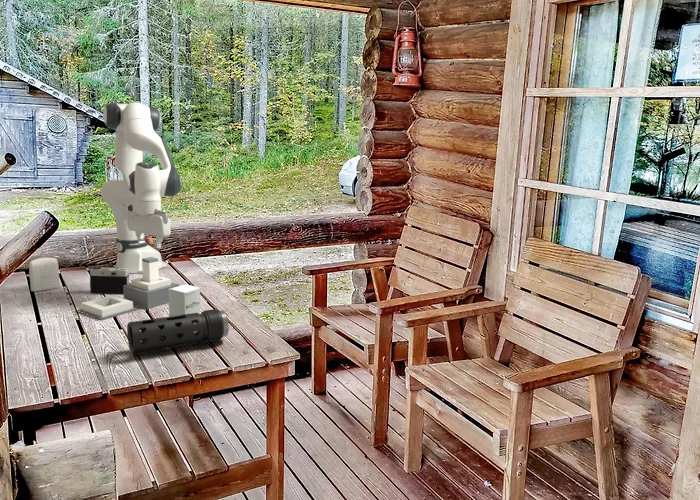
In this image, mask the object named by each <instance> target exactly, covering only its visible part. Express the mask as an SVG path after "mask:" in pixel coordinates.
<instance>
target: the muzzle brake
mask: <svg viewBox="0 0 700 500" xmlns="http://www.w3.org/2000/svg"><path fill="white" fill-rule="evenodd" d="M229 328H230V327H229V320H228V315H227V312H226V311H225V310H223V309H222V310H219V309H217V308H213V309H212V308H211V309H206V310H203V311H201V312H200V314H199V313H191V314H184V315H176V316H169V315H168V316H163V317H155V318H149V319H143V320H135V321H128V323H127V328H126V333H127V334H126V335H127V341H128V342H127V343H128V348H129V350H130V353H131V354H132V355H133V356H138V355H143V354H144V355H145V354H149V353H155V352H163V351H166V350H167V349H176V347H180V346H187V345H192V344H193V345H194V347H195V346H200V345H201V346H202V345H206V343H207V342H213V341H214V342H215V341H220V340H221V339H223V338H225V337H227V336H228V334H229Z"/></svg>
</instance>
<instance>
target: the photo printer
mask: <svg viewBox="0 0 700 500" xmlns="http://www.w3.org/2000/svg"><path fill="white" fill-rule="evenodd" d="M28 266H29V267H28V268H29V282H30V291H31V292H39V291H46V290H53V289H60V273H59V262H58V259H57V258H54V257H39V258H36V259H33V260H31V261H29V263H28Z"/></svg>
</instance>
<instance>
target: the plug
mask: <svg viewBox="0 0 700 500" xmlns="http://www.w3.org/2000/svg"><path fill="white" fill-rule="evenodd" d="M142 269H143V273H142V277H143V281H145V282H148V283H151V282H155V281H159V276H160V272H159V271H160V268H159V266H158V258H154V257H148V258H143V259H142Z"/></svg>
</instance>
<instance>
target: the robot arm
mask: <svg viewBox="0 0 700 500" xmlns="http://www.w3.org/2000/svg"><path fill="white" fill-rule="evenodd" d="M104 107H105V108H104V109H103V112H102V119H103V122H104V125H105V126H106V127H107V128H108V129H111V130H115V131H116V133H115V139H114V140H115V141H114V145H115V146H114V147H115V148H114V165H115V167H116V169H117V170H119V171H120V172H121V175H123V176H122V177H123V179H124V180H122V179H113V180H108V181H105V182H103V184H102V185H101V189H100V195H101V198H102V200H103V202H105V203H106V204H107V205H108V206H109V208H110V209H111V212H112V214H113V216H114V220H115V225H116V235H117V236H116V250H117V256H116V264H115V268H116V267H118V268H128V269H129V274H138V273H139V274H143V269H142V259H143V258H148V257H154V258H158V266H159V269H162V268H164V267H165V268H166V267H168V263H167V262H165V261H163V258H162V255H161V253H160V252H159V251H158V250H156V248H157V249H160V248H161V247H162V242H163V240H164V238H166V237H170V235H171V233H172V231H171V230H172V229H171V221H170V217H169V215H168V214H167V212H166V211H165V210H162V197H171V198H173V197H175V196H176V195H178V194H179V193H180V192H181V190H182V179H181V177H180V174H179V172H178V170H177V169H176V167H175V164H174V161H173V158H172V156H171V153H170V150H169V148H168V146H167V143H166V141H165V139H164V138H163V137H162V136H159V134H157V132H156V131H157V130H158V129H159V128H160V126H161V122H162V121H161V120H162V119H161V114H160V111H159V109H158V108H157V107H155V106H152V105H151V106H150V105H144V104H143V103H141V102H134V101H133V102H130V103H116V102H111V103H108V104H106V105H105V106H104ZM144 153H147V154H150V155H153V156H155V157H156V158H157V159H158V161H159V163H160V166H161V168H162V169H160V168H159V165H158V164H157V163H155V162H152V161H144V157H143V156H144ZM145 234H146V235H151V236H155V238H156V241H155V242H154V247H152V246H150V245H149V243H153V238H152V237H145Z"/></svg>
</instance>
